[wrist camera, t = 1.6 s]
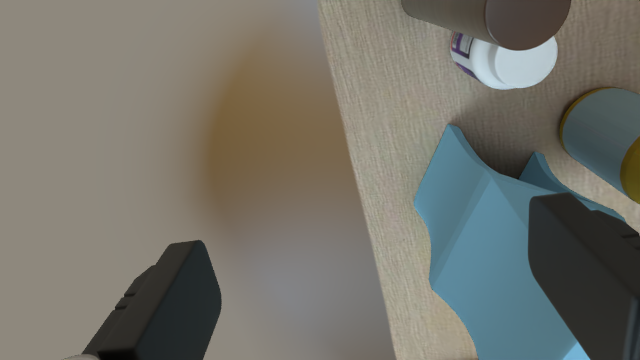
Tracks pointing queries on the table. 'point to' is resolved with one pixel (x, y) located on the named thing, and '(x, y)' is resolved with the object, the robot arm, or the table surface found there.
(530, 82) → the pill bottle
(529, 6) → the stirring stick
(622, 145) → the bottle
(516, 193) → the vase
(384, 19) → the table surface
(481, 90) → the table surface
